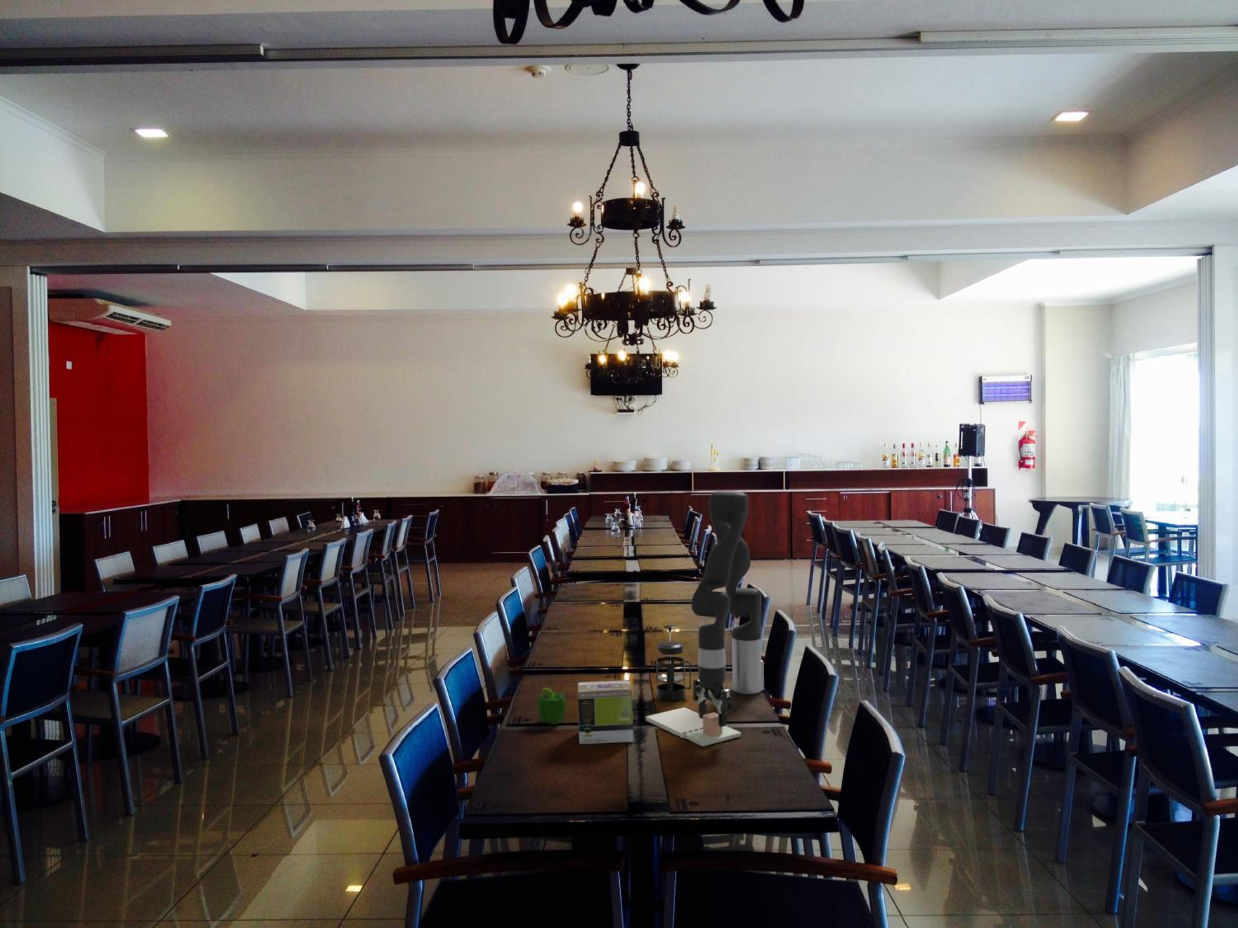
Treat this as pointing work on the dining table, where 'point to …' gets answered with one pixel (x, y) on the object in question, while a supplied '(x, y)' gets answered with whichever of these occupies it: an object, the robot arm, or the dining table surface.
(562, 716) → the bell pepper
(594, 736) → the tea box
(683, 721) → the white notebook
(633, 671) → the dining table surface
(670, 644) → the french press
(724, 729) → the stub
